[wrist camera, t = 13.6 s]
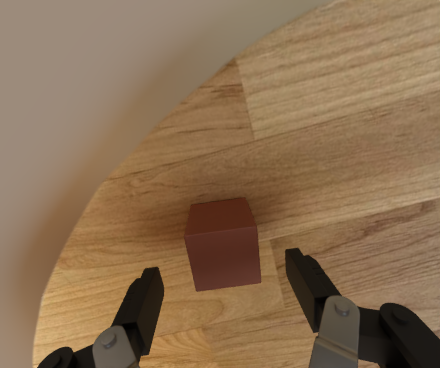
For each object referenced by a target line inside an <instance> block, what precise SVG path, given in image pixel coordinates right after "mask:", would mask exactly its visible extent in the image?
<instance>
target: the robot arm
mask: <svg viewBox="0 0 440 368" xmlns="http://www.w3.org/2000/svg"><path fill="white" fill-rule="evenodd" d="M285 261H286V274H287V277H288V280H289V282H290V284H291V286H292V289H293V291H294V293H295V295H296V297H297V299H298V301H299V303H300V306H301V308H302V310H303V312H304V314H305V316H306V318H307V320H308V323H309V325H310V327H311V329H312V331H313V333H316V332H319V333H318V336H316V338H315V342H314V346H313V350H312V354H311V359H310V363H309V367H308V368H358V359H360V360H365V361H369V362H374V363H378V365H379V366H380V368H440V339H439V338H438V337H437V336H436V335H435V334H434V333H433V332H432V331H431V330H430V329H429V328H428V327H427V326H426V324H425V323H424V322H423V321H422V320H421V319H420V318H419V317H418V316H417V315H416V314H415V313H414V312H412V311H411V310H409V309H408V308H406V307H404V306H402V305H399V304H395V303H385V304H383V305H382V306H381V307H380V310H373V309H367V308H361V307H358V306H356V304H355V303H354V302H352V301H351V300H350V299H348V298H346V297H343V296H342V295H341V294H340V293H339V291H338V290H337V288H336V287H335V286H334V284H333V283H332V281H331V280H330V279H329V277H328V276H327V275H326V274H325V272H324V270H323V269H322V268H321V266H320V265H319V264H318V262H317V261H316V260H315V259H314V258H312V257H311V256H309V255H306V256H303V254H302V253H301V251H300V250H299V248H292V249H286V250H285ZM163 297H164V285H163V282H162V278H161V275H160V271H159V268H158V267H152V268H145V269H144V271H143V273H142V276H141V278H137V279H136V280H135V281H134V282H133V283H132V284H131V285H130V287H129V289H128V291H127V293H126V295H125V297H124V299H123V302H122V304H121V306H120V308H119V310H118V312H117V314H116V317H115V319H114V321H113V323H112V325H111V327H110V328H108V329H106V330H105V331H103V332H102V333H101V334H100V335H99V336H98V338H97V339H96V340H95V342H94V344H92V345H90V346H88V347H85V348H83V349H81V350H79V351H76V352H73V350H72V349H71V348H70V347H62V348H59V349H57V350H55V351H54V352H52V353H51V354H49V355H48V356H47V357H46V358H45V359H44V360H43V361H42V362H41V363H40V364H39V366H38V367H37V368H140V367H139V361H140V358H141V356H144V355H149V352H150V348H151V344H152V340H153V336H154V332H155V328H156V325H157V321H158V317H159V313H160V309H161V305H162V301H163Z"/></svg>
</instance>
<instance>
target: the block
mask: <svg viewBox="0 0 440 368" xmlns="http://www.w3.org/2000/svg"><path fill="white" fill-rule="evenodd" d="M184 239H185V244H186V248H187V253H188V257H189V262H190V266H191V270H192V275H193V279H194V284H195V288H196V291H197V292H198V291H206V290H213V289H221V288H228V287H236V286H243V285H250V284H258V283H261V270H260V258H259V246H258V234H257V226H256V223H255V221H254V218H253V216H252V213H251V211H250V208H249V206H248V203H247V201H246V198H238V199H231V200H224V201H216V202H209V203H202V204H194V205H191V207H190V211H189V216H188V220H187V225H186V229H185V234H184Z"/></svg>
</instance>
